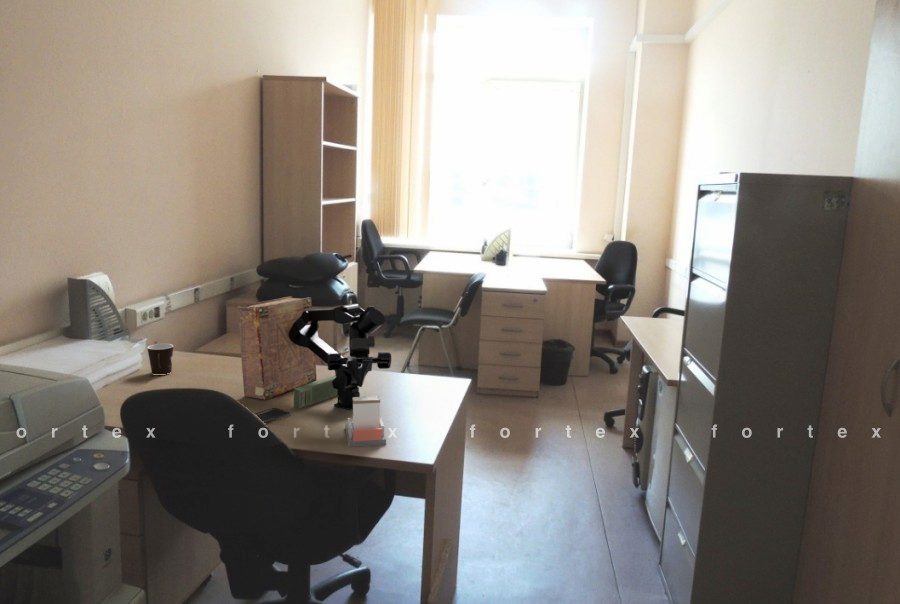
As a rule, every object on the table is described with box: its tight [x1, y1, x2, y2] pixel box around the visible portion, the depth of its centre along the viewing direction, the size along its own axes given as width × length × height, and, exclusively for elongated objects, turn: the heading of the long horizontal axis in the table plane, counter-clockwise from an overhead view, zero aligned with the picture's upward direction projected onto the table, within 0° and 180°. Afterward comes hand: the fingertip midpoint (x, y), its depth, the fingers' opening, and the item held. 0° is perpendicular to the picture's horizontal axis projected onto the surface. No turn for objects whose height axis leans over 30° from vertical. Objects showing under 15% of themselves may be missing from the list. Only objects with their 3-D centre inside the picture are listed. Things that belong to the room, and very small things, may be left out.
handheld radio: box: [293, 374, 338, 410], centre depth 209 cm, size 7×3×25 cm
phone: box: [255, 407, 291, 425], centre depth 189 cm, size 8×1×15 cm
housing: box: [344, 416, 387, 448], centre depth 178 cm, size 14×10×4 cm
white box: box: [352, 395, 381, 429], centre depth 175 cm, size 3×7×10 cm, turn 103°
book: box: [237, 295, 318, 400], centre depth 215 cm, size 25×9×30 cm, turn 152°
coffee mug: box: [146, 343, 174, 374], centre depth 229 cm, size 12×9×10 cm
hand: (360, 386), depth 186 cm, fingers closed
